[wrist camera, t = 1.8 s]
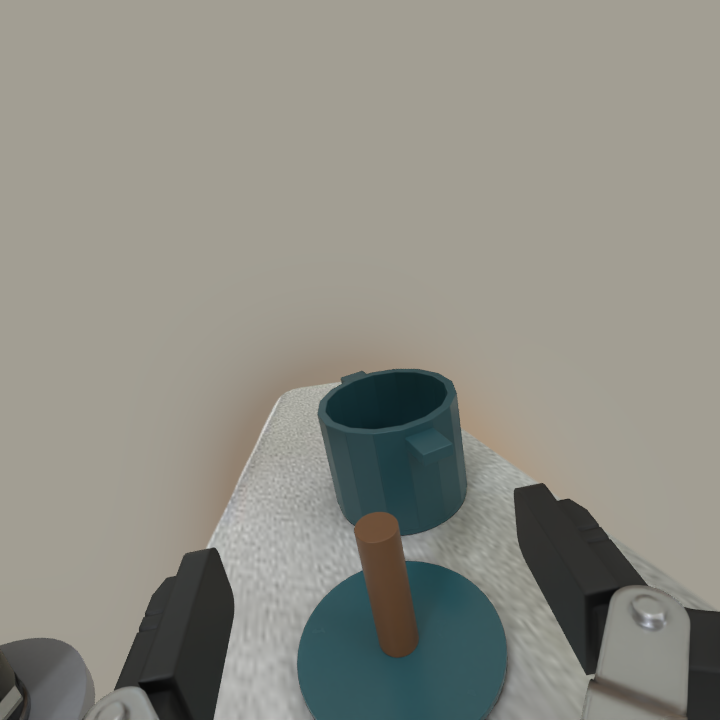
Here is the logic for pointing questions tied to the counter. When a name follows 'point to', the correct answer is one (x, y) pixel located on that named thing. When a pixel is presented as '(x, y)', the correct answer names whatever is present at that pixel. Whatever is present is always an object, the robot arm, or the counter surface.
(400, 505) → the cooking pot
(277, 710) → the counter surface
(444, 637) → the lid
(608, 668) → the robot arm
